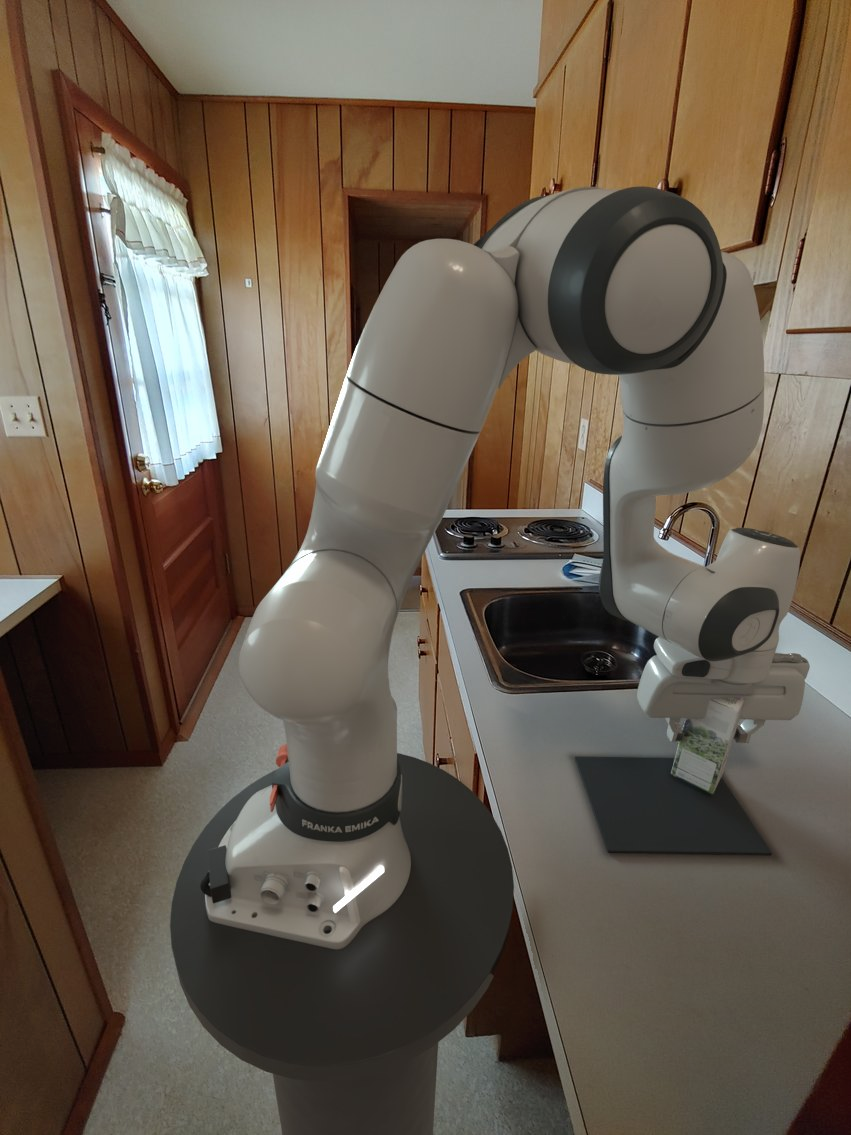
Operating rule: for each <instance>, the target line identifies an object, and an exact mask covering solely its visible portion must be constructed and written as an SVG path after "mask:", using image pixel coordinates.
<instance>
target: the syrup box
mask: <svg viewBox="0 0 851 1135" xmlns="http://www.w3.org/2000/svg"><path fill="white" fill-rule="evenodd" d="M743 702H744V700H743V698H720V699H713V700H709V704H708V708H707V712H706V716H705V717H704V718H703V719H697V718H684V722H683V725H682V728H681V729H682V730H683V731H684V733H685V734H684V737H683V738H682V739H683V741H682V742H678V745H677V748H676V752H675V756H674V758H675V760H674V763H673V767H672V771H671V775H673V776H675V777H677V778H680V779H682V780H684V781H686V782H688V783H690V784H692V785H694V786H696V787H698V788H700V789H702V790H704V791H706V792H709V793H711V794H713V793H714V791H715V789H716V787H717V785H718V783H719V781H720V778H721V777H722V776H723V774H724V772H725V768H726V766H727V762H728V757H729V754H730V751H731V747H732V745H733V741H734V740H735V739H734V736H735V732H736V729H737V726H738V725H739V723H740V720H741V719H739V715H740V712H741V709H742V706H743Z"/></svg>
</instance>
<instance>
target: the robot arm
mask: <svg viewBox="0 0 851 1135" xmlns="http://www.w3.org/2000/svg"><path fill="white" fill-rule="evenodd" d="M757 299H758V298H757V296H756V291H755V287H754V281H753V277H752V276H751V273H750V270H749V268H748V267H747V265H746V264H745V263H744V262H743V261H742V260H741V259H740V258H738V257H737V256H735V255H733V254H731V253H728V252H725V251H722V250H721V246H720V243H719V240H718V237H717V235H716V232H715V229H714V228H713V226H712V224H711V222H710V220H709V219H708V218H707V217H706V215H705V214H704V213H703V211H702V210H701V209H700V208H698V206H697V205H695V204H694V203H692V202H691V201H689V199H686V198H684V197H683V196H681V195H678V194H677V193H675V192H671V191H668V190H665V189H661V188H656V187H652V186H645V185H644V186H640V185H639V186H630V187H626V188H625V187H624V188H622V189H621V188H620V189H619V188H603V187H598V186H582V187H581V186H580V187H574V188H570V189H566V190H561V191H559V192H555V193H553V194H550V195H540V196H535V197H533V198H530V199H528V200H525V201H523V202H522V203H520V204H518V205H517V206H515V207H514V208H512V209H510V211H508V212H507V213H505V215H503V216H502V217H501V218H500V219H499V220H498V221H497V222H495V224H494V225H493V226H492V227H491V228H490V229H489V230H488V231H487V232H485V233H484V234H483V235H482V236H481V237H480V238H478V240H477V241H476V242H474V243H470V242H466V241H462V240H459V239H452V238H432V239H426V240H423V241H419V242H417V243H415V244H414V245H411V247H410V248H408V249H407V250H405V251H404V253H402V255H401V256H400V258H399V259H398V260H397V262H396V264H395V266H394V268H393V269H392V271H391V273H390V275H389V276H388V278H387V280H386V281H385V284H384V285H383V288H382V289H381V291H380V293H379V294H378V297H377V299H376V301H375V303H374V304H373V307H372V310H371V312H370V314H369V316H368V318H367V321H366V322H365V325H364V326H363V329H362V332H361V334H360V336H359V339H358V342H357V345H356V347H355V349H354V352H353V354H352V358H351V360H350V362H349V363H350V364H349V366H348V369H347V373H346V375H345V378H344V381H343V383H342V388H341V390H340V394H339V396H338V398H337V399H338V400H337V402H336V405H335V409H334V412H333V415H332V418H331V421H330V425H329V427H328V431H327V434H326V437H325V440H324V442H323V446H322V449H321V453H320V455H319V458H318V462H317V464H316V467H315V472H314V473H315V474H314V476H315V492H314V496H313V497H314V498H313V503H312V510H311V514H310V519H309V523H308V526H307V527H308V528H307V530H306V533H305V536H304V539H303V542H302V543H301V546H300V549H299V550H298V552H297V554H296V555H295V557H294V558H293V559H292V562H291V563H290V564H289V566H288V568H287V569H286V570H285V571H284V573H283V574H282V575H281V577H280V578H279V579H278V580H277V582H276V583H275V584H274V585H273V587H272V588H271V589H270V590H269V591H268V592H267V594H266V595H265V596H264V597H263V598H262V600H261V601H260V602H259V604H258V605H257V607H256V609H255V611H254V613H253V615H252V618H251V620H250V622H249V625H248V628H247V630H246V633H245V635H244V638H243V642H242V645H241V648H240V651H239V654H238V671H239V675H240V679H241V681H242V685H243V686H244V688H245V690H246V692H247V693H248V695H249V696H250V698H251V699H252V700H253V701H254V703H256V705H258V706H259V707H260V708H261V709H263V710H264V711H265V712H267V713H268V714H270V715H271V716H273V717H275V718H276V719H278V720H280V721H282V723H283V727H284V733H285V741H286V743H284V744H282V745H281V746H280V747H279V749H278V751H277V752H278V753H277V757H276V758H275V764H276V766H277V767H278V768H279V769H278V768H276V769H277V770H276V769H275V770H276V772H275V774H274V776H273V780H272V785H271V786H269V787H267V788H264V789H262V790H260V791H258V792H256V793H255V794H254V795H253V796H252V797H251V798H250V799H249V800H248V801H247V803H246V804H245V805H244V807H243V809H242V810H241V812H240V814H239V816H238V818H237V820H236V821H235V822H234V823H233V824H232V826H231V827H230V828H229V830H228V831H227V832H226V834H225V836H224V837H223V839H222V841H221V843H220V845H219V847H217V848H214V849H210V850H208V855H209V872H208V873H207V874H206V875H205V877H204V878H203V879H202V881H201V884H200V888H201V890H202V892H203V893H204V894H205V905H206V912H207V915H208V918H209V920H210V921H212V922H214V923H218V924H222V925H227V926H231V927H236V928H240V929H245V930H249V931H254V932H258V933H263V934H267V935H272V936H276V937H281V938H285V939H290V940H294V941H299V942H303V943H308V944H312V945H317V946H321V947H326V948H330V949H336V950H337V949H342V948H344V947H345V946H347V945H348V944H349V943H350V942H351V941H352V940H353V938H354V937H355V936H356V935H357V933H358V932H359V931H360V929H361V928H362V927H363V926H364V925H365V924H366V923H368V922H369V921H371V920H372V919H374V918H376V917H377V916H379V915H381V914H382V913H383V912H385V911H386V910H387V909H388V908H390V907H391V906H392V905H393V904H394V903H395V902H396V900H397V899H398V898H399V897H400V895H401V894H402V892H403V890H404V888H405V886H406V884H407V882H408V879H409V875H410V870H411V856H410V851H409V848H408V845H407V843H406V841H405V838H404V835H403V832H402V827H401V823H400V811H401V808H402V775H401V768H400V763H399V760H398V758H397V753H398V706H397V702H396V700H395V699H394V697H393V696H392V692H391V686H390V679H389V658H390V657H389V656H390V650H391V643H392V639H393V633H394V629H395V625H396V622H397V620H398V619H397V618H398V616H399V613H400V610H401V607H402V604H403V602H404V599H405V595H406V593H407V590H408V588H409V585H410V584H411V581H412V579H413V577H414V575H415V573H416V570H417V568H418V566H419V564H420V562H421V560H422V558H423V556H424V554H425V552H426V550H427V548H428V546H429V544H430V542H431V540H432V539H433V537H434V535H435V533H436V531H437V529H438V527H439V525H440V524H441V522H442V520H443V517H444V516H445V513H446V511H447V509H448V506H449V504H450V502H451V500H452V497H453V496H454V493H455V491H456V489H457V486H458V484H459V482H460V480H461V477H462V475H463V473H464V471H465V469H466V466H467V464H468V462H469V459H470V456H471V454H472V453H473V450H474V448H475V446H476V444H477V441H478V438H479V437H480V434H481V431H482V430H483V428H484V425H485V424H486V420H487V418H488V415H489V413H490V410H491V408H492V407H493V403H494V400H495V398H496V394H497V392H498V390H499V389H500V388H501V387H502V386H503V384H504V382H505V380H506V379H507V378H508V376H509V375H510V373H511V372H512V371H513V370H514V369H515V368H516V367H517V365H519V364H520V363H521V362H523V361H524V359H525V358H527V357H528V356H530V355H531V354H533V353H535V352H538V353H540V354H541V355H543V356H545V357H549V358H551V359H554V360H557V361H559V362H562V363H565V364H566V363H567V364H570V365H576V366H578V367H579V368H581V369H583V370H585V371H588V372H591V373H594V374H600V375H609V376H610V375H611V376H616V375H617V376H618V378H619V392H620V401H621V409H622V418H623V424H622V425H623V426H622V434H621V435H620V436H618V438H617V439H616V440H615V441H614V442H613V443H612V445H611V446H610V448H609V450H608V452H607V455H606V458H605V462H604V468H603V480H602V530H603V531H602V537H603V538H602V540H603V542H602V543H603V547H602V548H603V549H602V550H603V554H602V563H601V567H600V572H599V576H598V577H599V578H598V591H599V592H598V593H599V597H600V600H601V604H602V606H603V607H604V610H605V611H606V612H607V613H609V614H610V615H611V616H614V617H616V618H618V619H620V620H623V621H626V622H628V623H630V624H633V625H636V626H638V627H640V628H642V629H643V630H645V631H647V632H649V633H651V634H653V635H655V636H656V637H657V638H655V640H654V643H653V650H654V652H655V655H653V656H652V657H650V659H648V660H647V662H646V664H645V666H644V668H643V671H642V673H641V676H640V679H639V683H638V686H637V691H636V699H637V702H638V704H639V706H640V708H641V710H642V711H643V712H644V713H645V715H646V716H647V717H649V718H650V719H651V718H653V719H657V718H658V719H664V720H665V721H666V723H667V729H666V737H667V738H668V740H669V742H672V743H679V742H682V741H683V739H682V738H683V737H684V734H685V733H684V731H683V730H682V729H683V728H682V726H681V724H679V723H681V719H685V718H697V719H703V718H704V717H705V716H706V712H707V708H708V704H709V700H713V699H720V698H743V700H744V702H743V706H742V709H741V712H740V715H739V719H740V720H743V721H742V722H741V723H740V724H738V726H737V729H736V732H735V736H734V739H733V740H734V742H735V743H737V744H749V743H750V742H751V741H750V740H751V737H752V735H753V734H755V733H756V732H757V731H758V730H759V729H761V728H762V727H764V725H765V723H766V721H791V720H793V719H795V718H796V717H797V716H798V715H799V714H800V713H801V709H802V705H803V704H802V703H803V701H804V697H805V696H804V695H805V690H806V689H805V687H806V679H807V676H808V674H809V672H810V668H811V665H810V662H809V661H808V659H807V658H805V657H803V656H802V655H801V654H800V653H797V652H789V653H781V652H776V651H777V648H778V645H779V641H780V632H779V631H780V626H781V623H782V621H783V620H784V619H785V618H786V616H787V615H788V613H789V611H790V608H791V605H792V602H793V598H794V594H795V590H796V586H797V583H798V582H797V581H798V578H799V572H800V564H801V563H800V562H801V549H800V547H799V546H798V545H797V544H796V543H795V542H794V541H793V540H791V539H788V538H787V537H784V536H781V535H778V534H774V533H771V532H768V531H764V530H759V529H756V528H751V527H750V528H749V527H735V528H731V529H729V530H728V532H727V534H726V535H725V537H724V539H723V541H722V543H721V546H720V548H719V550H718V553H717V555H716V556H717V557H716V558H715V561H713V562H712V563H710V564H707V565H706V566H705V565H702V564H700V563H697V562H695V561H692V560H689V559H687V558H684V557H682V556H680V555H676V554H674V553H672V552H671V551H669V550H668V549H666V548H664V547H663V546H662V545H661V544H660V543H659V542H657V540H656V538H655V522H656V508H657V497H661V496H676V495H677V496H678V495H684V494H690V493H692V492H696V491H699V490H703V489H705V488H707V487H710V486H712V485H715V484H717V483H718V482H720V481H722V480H724V479H726V478H727V477H729V476H730V475H732V474H733V473H734V472H736V471H737V470H739V468H740V467H741V466H742V465H743V464H744V463H745V462H747V459H749V457H750V456H751V455H752V453H753V452H754V450H755V449H756V447H757V445H758V443H759V440H760V437H761V432H762V428H763V424H764V414H765V355H764V354H765V353H764V340H763V331H762V323H761V317H760V311H759V305H758V300H757ZM327 930H330V931H331V932H330V933H329V934H325V933H324V932H325V931H327Z"/></svg>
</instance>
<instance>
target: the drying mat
mask: <svg viewBox="0 0 851 1135" xmlns="http://www.w3.org/2000/svg"><path fill="white" fill-rule="evenodd" d="M674 760H675V757H641V756H640V757H636V756H635V757H634V756H579V755H577V756H574V761H575V763H576V766H577V769H578V772H579V774H580V778H581V780H582V783H583V786H584V789H585V792H586V794H587V795H586V796H587V798H588V800H589V803H590V806H591V809H592V811H593V815H594V817H595V820H596V823H597V825H598V828H599V831H600V835H601V837H602V840H603V843H604V846H605V848H606V852H607V853H608V854H610V853H611V854H615V853H616V854H666V855H667V854H668V855H669V854H671V855H672V854H673V855H730V856H731V855H737V856H740V855H741V856H742V855H743V856H744V855H745V856H771V855H772V854H773V852H772V850H771V849H770V848H769V846H768V845H767V842H765V840H764V839H763V837H762V836H761V834H760V833H759V831H758V830H757V828H756V826H755V825H754V824H753V822H752V820H751V819H750V818H749V816H748V815H747V813H746V811H745V810H744V808H743V807H742V805H741V804H740V803H739V801H738V800H737V798H736V797H735V795H734V794H733V791H732V790H731V789H730V788H729V785H728V784H727V783H726V781H725V780H724V778H723V777H722V776H721V778H720V781H719V783H718V785H717V787H716V789H715V791H714V793H713V794H711V793H709V792H706V791H704V790H702V789H700V788H698V787H696V786H694V785H692V784H690V783H688V782H686V781H684V780H682V779H680V778H677V777H675V776H673V775H671V771H672V767H673V763H674Z"/></svg>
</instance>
